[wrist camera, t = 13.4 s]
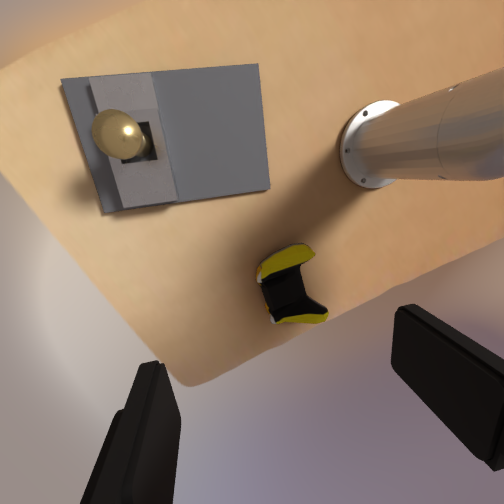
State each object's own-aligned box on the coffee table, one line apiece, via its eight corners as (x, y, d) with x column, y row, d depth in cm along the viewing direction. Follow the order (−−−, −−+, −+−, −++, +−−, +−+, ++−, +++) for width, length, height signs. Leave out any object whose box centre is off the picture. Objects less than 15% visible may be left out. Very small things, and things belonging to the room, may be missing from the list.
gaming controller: (302, 234, 41) (246, 254, 40) (315, 243, 36) (252, 265, 35) (319, 306, 46) (270, 324, 45) (333, 323, 41) (278, 343, 40)
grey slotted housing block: (152, 76, 30) (148, 68, 27) (179, 198, 35) (177, 200, 32) (93, 81, 29) (83, 73, 27) (129, 205, 34) (123, 207, 32)
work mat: (256, 66, 32) (258, 63, 31) (268, 188, 37) (270, 189, 36) (65, 81, 29) (60, 78, 28) (107, 211, 34) (104, 213, 34)
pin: (153, 124, 31) (133, 106, 23) (161, 160, 33) (146, 155, 24) (118, 128, 31) (84, 111, 22) (128, 164, 32) (100, 161, 24)
